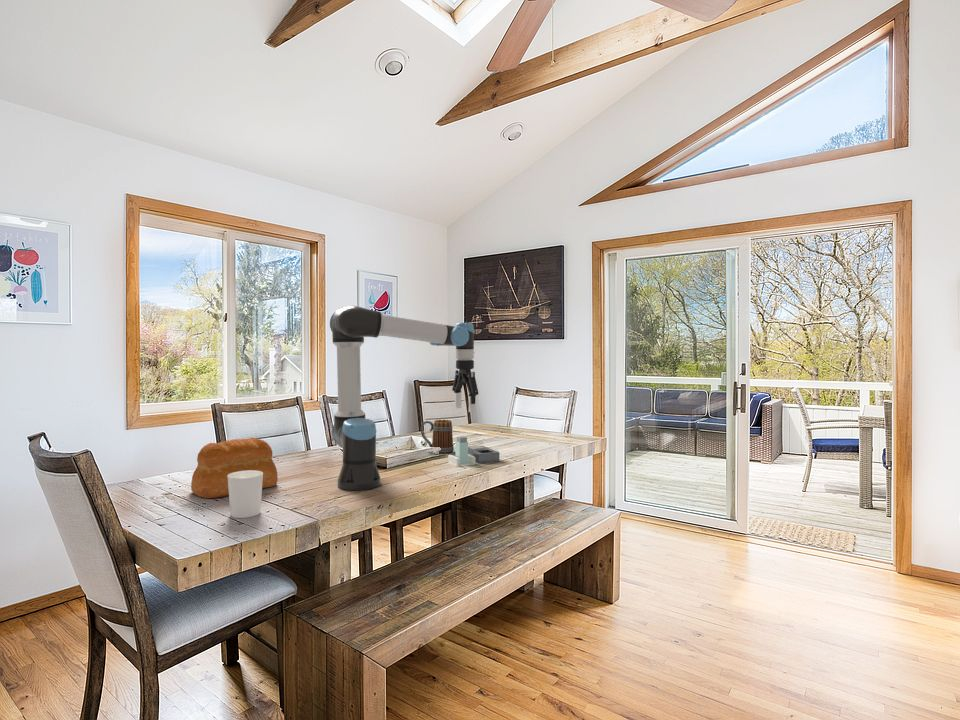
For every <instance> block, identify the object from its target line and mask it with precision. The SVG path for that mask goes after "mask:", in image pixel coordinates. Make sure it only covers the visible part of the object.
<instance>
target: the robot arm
mask: <svg viewBox="0 0 960 720" xmlns="http://www.w3.org/2000/svg"><path fill="white" fill-rule="evenodd" d="M474 327H475V326H474V324H473V323H472V322H457V323H456V324H455V326H454V325H449V324H442V323H437V322H435V323H434V322H430V321H425V320H417V319H412V318H411V319H410V318H405V317H398V316H391V315H385V314H383V313H382V311H379V310H378V311H377V310H373V309H368V308H365V307H362V306H358V305H349V306H341V307H340V308H338V309H336V310H335V311H334V312H333V314H332V315H331V316H330V319H329V328H330V330H331V332H332V336H331V337H332V344H333V345H334V346H335V347H336V369H337V371H336V372H337V375H336V377H337V407H338V408H337V411H335V413H334V414H333V418H334V419H333V420H334V421H333V423H334V424H333V425H332V429H331V436H332V439H333V441H334V442H335V443H336V445H338V446H339V447H340V448H342V464H341V469H340V472H339V475H338V478H337V487H338V488H339V489H340V490H341V489H342V490H347V491H365V490H370V489H375V488H378V487H379V486H381V481H382V480H381V475H380V473H379V469H378V467H377V466H378V465H377V463H376V459H377V449H376V447H377V426H376V425H377V424H376V422H375V421H374V420H372V419H370V418H366V413H365V412H364V411H363V410H362V388H361V387H362V385H361V379H362V378H361V347H362V346H363V344H364V343H365V338H376V339H377V338H379V337H380V336H383V337H389V338H395V339H403V340H411V341H420V342H425V343H429V345H431V346H437V347H438V346H440V347H441V346H443V347H444V346H449V347H450V346H451V347H452V346H453V347H455V359H456V360H455V368H456V369H457V370H455V372H454V373H455V375H454V380H453V384H452V388H451V389H452V390H451V391H453V393H454V409H462V388H463V385H464V384H465V386H466V388H467V391H468V395H467V396H468V413H475V412H476V397H477V395H479V388H478V385H477V380H476V373H475V371H472V370H474V368H475V361H474V360H473V359H474V357H475V349H474V348H475V341H474V340H475V339H474V338H475V328H474Z"/></svg>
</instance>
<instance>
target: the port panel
mask: <svg viewBox="0 0 960 720" xmlns="http://www.w3.org/2000/svg"><path fill="white" fill-rule="evenodd" d="M468 454H469V455H472V456H474V457H475V464H478V465H480V464H488V463H489V464H490V463H499V462H500V452H499V450H496V449H495V450H494V449H493V448H489V447H487V446H484V445H475V446H474V445H472V446H468Z"/></svg>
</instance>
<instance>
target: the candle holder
mask: <svg viewBox="0 0 960 720" xmlns="http://www.w3.org/2000/svg"><path fill="white" fill-rule="evenodd" d="M227 478H228V490H229V495H228V502H229V503H228V504H229V513H230V514H229V516H230V517H231V518H234V519H248V518H252V517H256V516H259V514H261V512H262V511H261V509H262V498H263V497H262V496H263V495H262V494H263V488H262V481H263V472H261V471H256V470H246V471H238V472H233V473H230V474H228V476H227Z"/></svg>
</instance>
